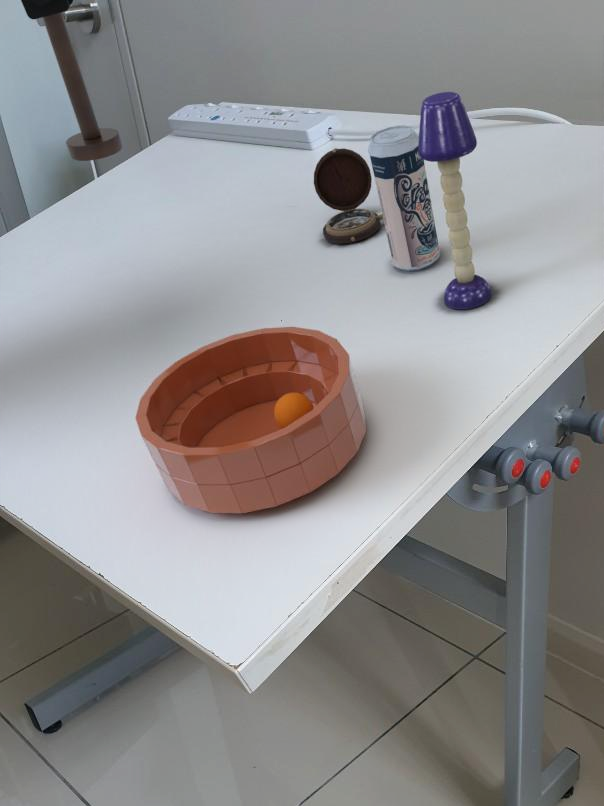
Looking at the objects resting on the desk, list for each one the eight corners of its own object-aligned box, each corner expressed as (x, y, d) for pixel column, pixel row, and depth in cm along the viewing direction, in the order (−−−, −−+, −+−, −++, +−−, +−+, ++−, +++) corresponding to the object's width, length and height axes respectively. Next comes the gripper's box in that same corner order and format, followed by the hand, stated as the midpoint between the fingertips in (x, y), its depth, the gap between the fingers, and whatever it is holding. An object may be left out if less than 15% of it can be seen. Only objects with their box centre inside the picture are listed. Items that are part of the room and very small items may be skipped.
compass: (325, 251, 90) (306, 181, 85) (324, 220, 96) (306, 153, 91) (401, 234, 89) (386, 162, 85) (395, 204, 95) (381, 135, 90)
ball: (299, 443, 64) (274, 413, 63) (285, 438, 67) (260, 409, 65) (328, 416, 65) (303, 385, 63) (313, 412, 67) (289, 382, 66)
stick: (65, 163, 72) (-18, -69, 61) (77, 146, 75) (1, -78, 65) (117, 157, 72) (43, -77, 61) (127, 139, 75) (59, -86, 64)
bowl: (155, 540, 61) (120, 474, 57) (179, 414, 72) (152, 352, 68) (373, 496, 60) (353, 426, 56) (363, 375, 71) (345, 309, 67)
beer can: (426, 275, 82) (402, 145, 74) (383, 272, 84) (355, 145, 76) (449, 251, 84) (428, 123, 76) (407, 248, 87) (382, 123, 79)
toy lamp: (443, 288, 79) (409, 94, 68) (494, 279, 79) (468, 81, 68) (445, 314, 76) (409, 114, 65) (498, 305, 75) (471, 101, 64)
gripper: (-107, -298, 60) (22, 3, 73) (-184, -315, 49) (-15, 47, 61) (-2, -325, 60) (109, -19, 72) (-54, -349, 49) (88, 21, 61)
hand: (51, 9), depth 67 cm, fingers closed on stick
